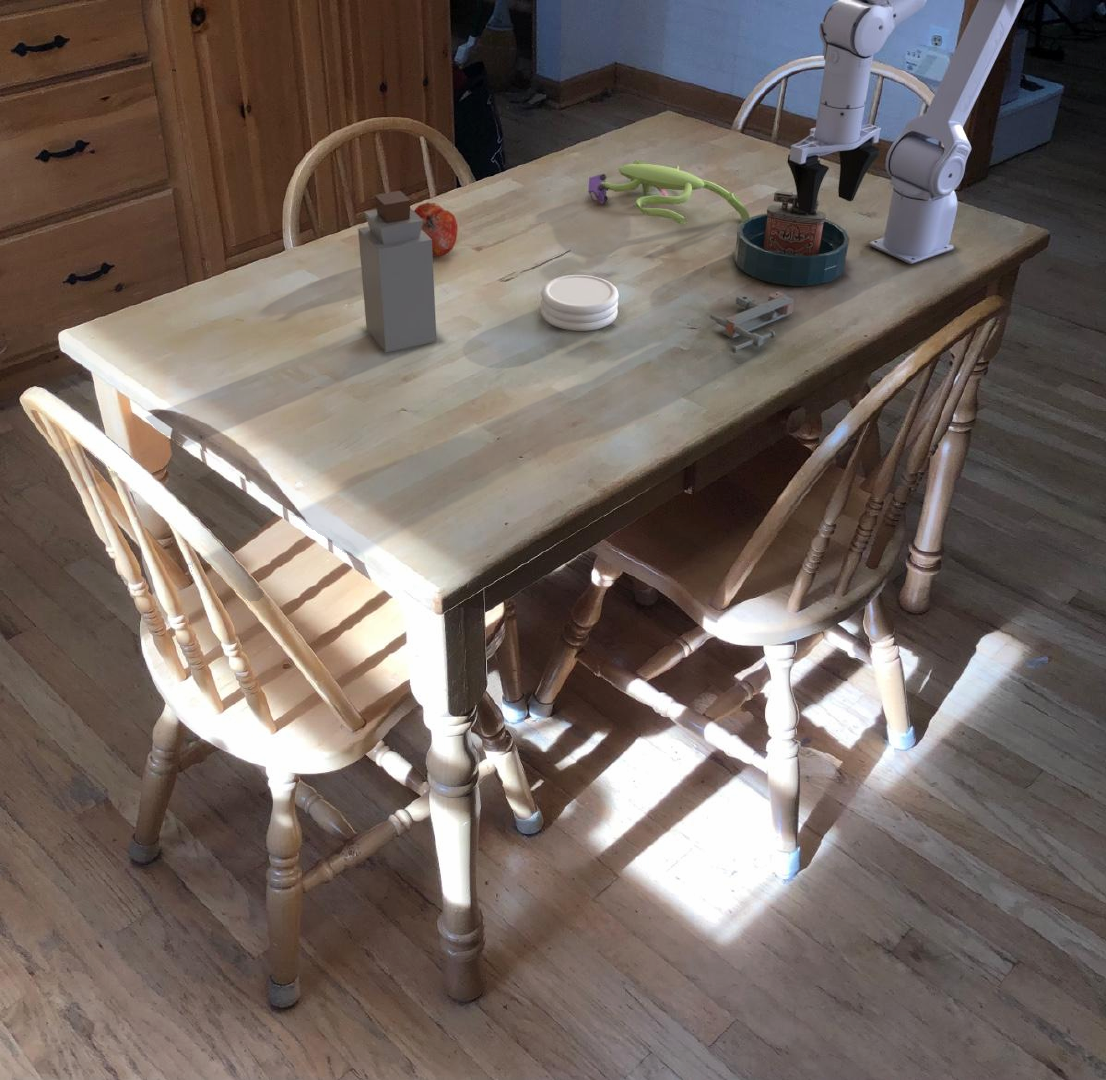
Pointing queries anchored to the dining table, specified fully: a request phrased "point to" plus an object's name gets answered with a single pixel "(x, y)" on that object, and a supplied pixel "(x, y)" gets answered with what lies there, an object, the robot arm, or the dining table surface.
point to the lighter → (792, 227)
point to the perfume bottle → (397, 275)
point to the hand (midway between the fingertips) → (825, 204)
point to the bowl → (790, 256)
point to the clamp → (768, 311)
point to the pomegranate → (438, 227)
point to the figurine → (660, 188)
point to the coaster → (579, 302)
